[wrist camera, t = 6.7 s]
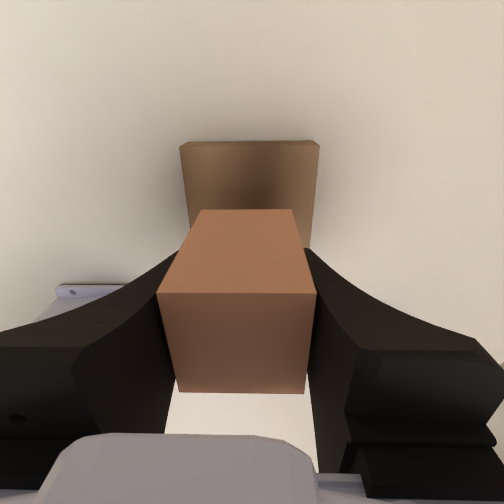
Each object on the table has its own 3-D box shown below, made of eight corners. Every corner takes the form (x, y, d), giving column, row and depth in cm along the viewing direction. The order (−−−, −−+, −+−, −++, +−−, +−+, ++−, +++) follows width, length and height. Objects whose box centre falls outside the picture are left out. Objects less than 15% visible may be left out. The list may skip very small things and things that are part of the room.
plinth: (200, 252, 21) (195, 265, 19) (187, 142, 17) (179, 147, 15) (303, 252, 21) (307, 265, 19) (313, 140, 17) (319, 145, 15)
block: (209, 283, 14) (179, 392, 9) (201, 209, 12) (155, 292, 7) (287, 283, 14) (304, 394, 9) (291, 209, 12) (316, 293, 7)
